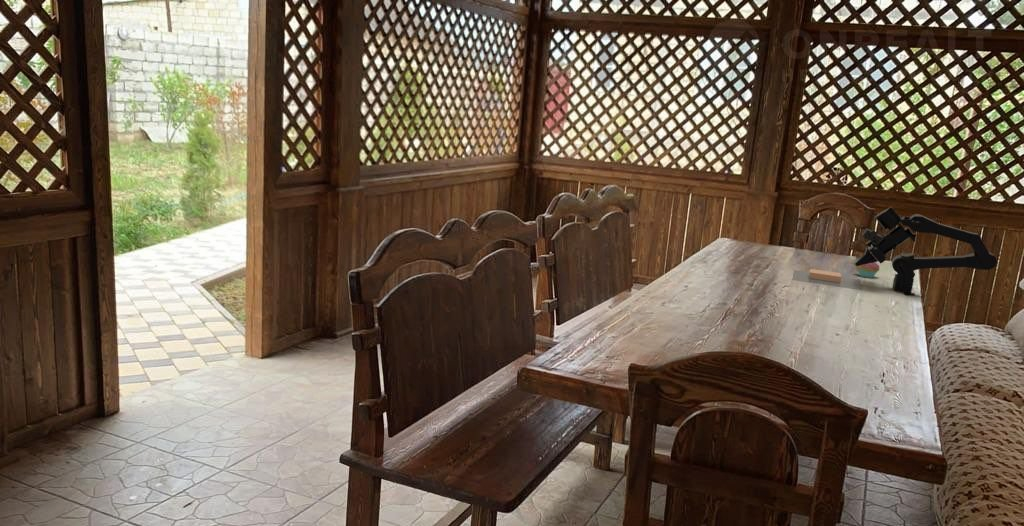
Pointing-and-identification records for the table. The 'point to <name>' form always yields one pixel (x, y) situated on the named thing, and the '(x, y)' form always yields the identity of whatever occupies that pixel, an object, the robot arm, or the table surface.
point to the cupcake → (868, 269)
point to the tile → (825, 276)
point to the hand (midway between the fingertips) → (855, 264)
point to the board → (844, 282)
